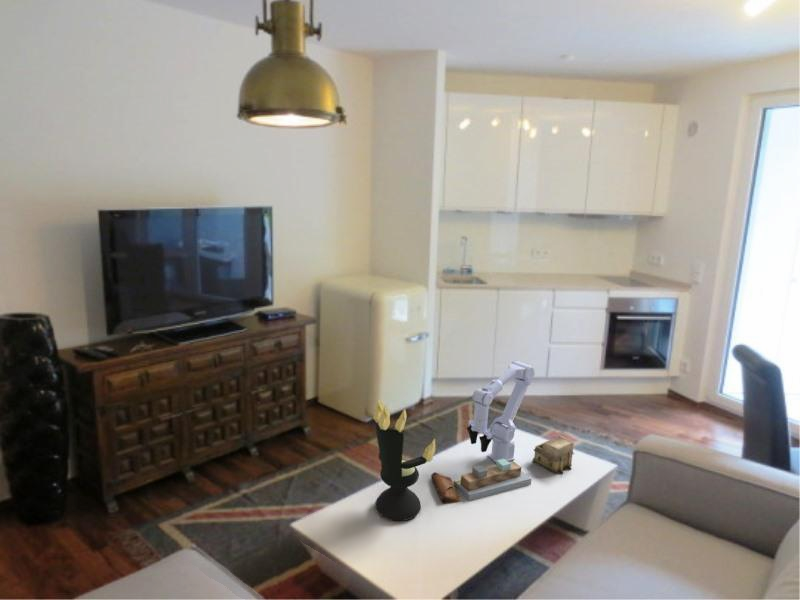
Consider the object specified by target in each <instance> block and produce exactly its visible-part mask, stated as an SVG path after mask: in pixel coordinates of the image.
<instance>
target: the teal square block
mask: <svg viewBox="0 0 800 600" xmlns="http://www.w3.org/2000/svg"><path fill="white" fill-rule="evenodd" d="M509 462H510V461H507V460H505V459H500V460H496V462H495V466H496V467H498V468H499V469H500V470H501V471H506V470H510V468H511V463H509Z"/></svg>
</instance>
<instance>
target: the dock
mask: <svg viewBox="0 0 800 600" xmlns="http://www.w3.org/2000/svg"><path fill="white" fill-rule="evenodd" d="M453 484H454V486H455V488H456V490H457V492H458V493H460V494H461V495H462V496H464V497H465V499H467V500H468V501H469V502H470V501H473V500H476V499H481V498H484V497H488V495H489V496H492V495H496V494H500V493H503V492H506V491H510V490H514V489H518V488H521V487H525V486H529V484H530V485H531V484H532V477H531V476H529V475H528V474H527V473H525V472H524V471H523V470H521V476H519V477H516V478H512V479H509V480H506V481H502V482H499V483H496V484H492V485H489V486H485V487H482V488H479V489H475V490H472V491H468V490H466V489H465V488H464V487H463V486H462V485H461V478H459V479H454V480H453ZM499 492H500V493H499Z"/></svg>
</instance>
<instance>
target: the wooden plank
mask: <svg viewBox="0 0 800 600" xmlns="http://www.w3.org/2000/svg"><path fill="white" fill-rule="evenodd" d="M508 462H509V463H511V468H510V470H506V471H501V470H500V469H499V468H498V467H496V465H492V466H489V467H484V468H485V469H486V470H487V476H486V477H482V478H478V477H476V476H475V475H474V474H473V473H472V471H471V472H468V473H467V472H466V473H463V474H461V475H460V479H461V485H462V486H463V487H464V488H465V489H466V490H468V491H472V490H475V489H479V488H482V487H485V486H489V485H492V484H496V483H499V482H502V481H506V480H509V479H512V478H516V477H519V476H521V471H522V466H520V465H519V464H518V463H516V462H515V461H514V460H511V461H508Z"/></svg>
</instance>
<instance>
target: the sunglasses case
mask: <svg viewBox="0 0 800 600" xmlns="http://www.w3.org/2000/svg"><path fill="white" fill-rule="evenodd" d="M430 477H431V481H432V483H433V485H434V487H435V489H436V491H437V494H438V496H439V498H440V501H441V503H442V504H444V505H445V504H446V505H447V504H454V503H462V502H463V501H462V498H461V496H460V494H459V491H458V490H457V489H456V488H455V486H454V481H453V480H452V478H451V477H449V476H445V475H442V474H440V473H438V472H435V471H434V472H433V473H432V474H431V476H430Z"/></svg>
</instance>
